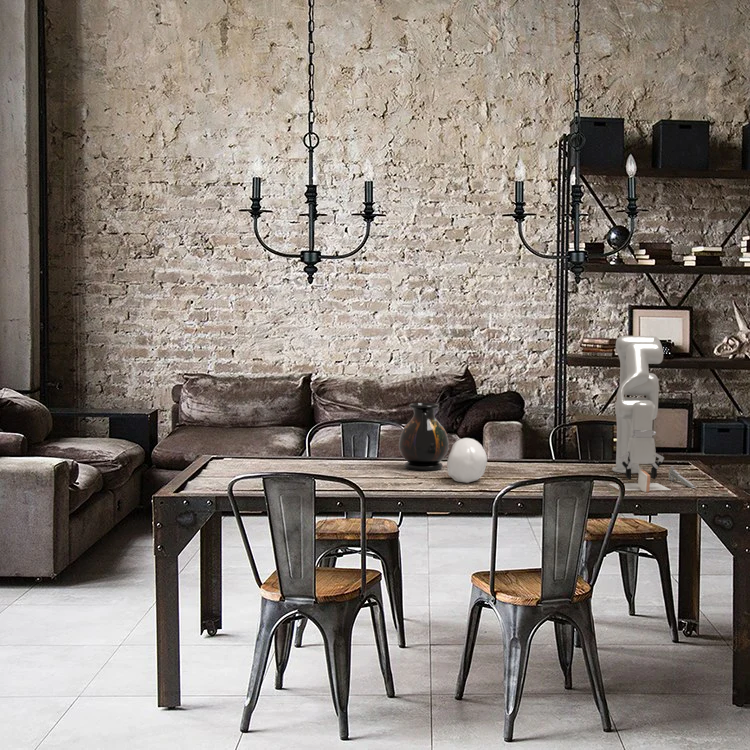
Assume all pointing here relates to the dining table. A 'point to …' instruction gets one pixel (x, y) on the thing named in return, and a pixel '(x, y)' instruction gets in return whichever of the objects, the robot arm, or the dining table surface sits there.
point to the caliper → (678, 477)
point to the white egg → (466, 460)
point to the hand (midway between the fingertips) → (641, 478)
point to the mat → (635, 487)
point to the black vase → (423, 439)
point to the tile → (643, 480)
